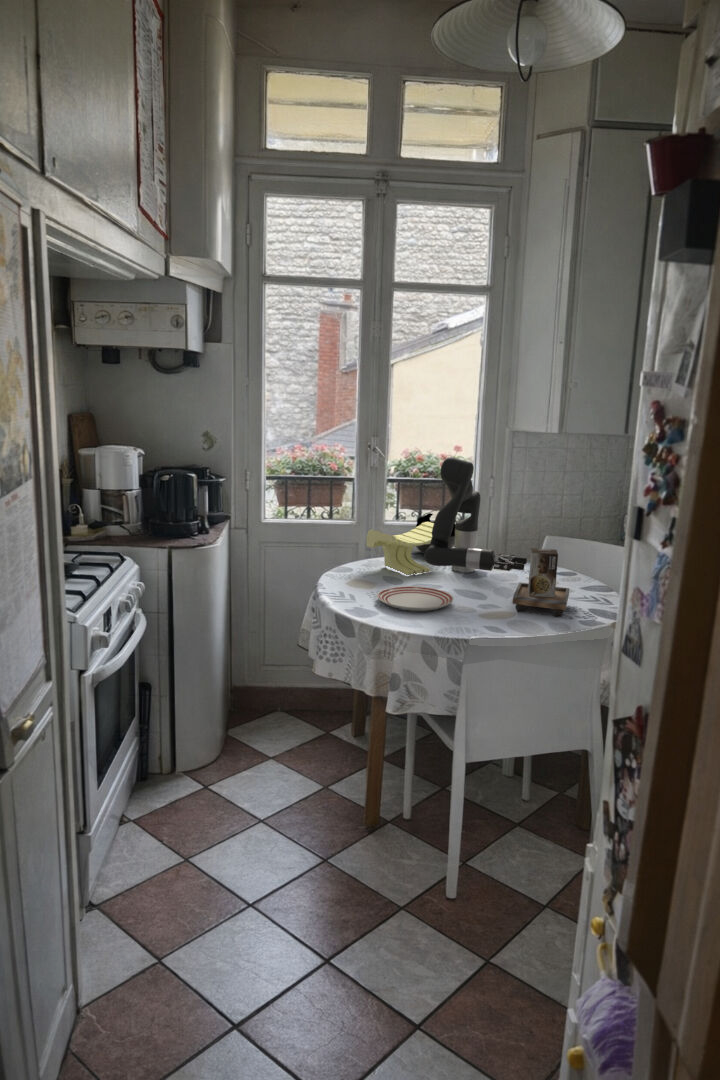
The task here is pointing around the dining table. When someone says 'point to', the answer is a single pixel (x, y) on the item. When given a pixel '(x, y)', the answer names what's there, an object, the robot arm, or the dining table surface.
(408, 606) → the dinner plate
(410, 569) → the slatted curved stool
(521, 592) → the caster dolly
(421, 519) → the coal bowl
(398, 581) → the dining table surface
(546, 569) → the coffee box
